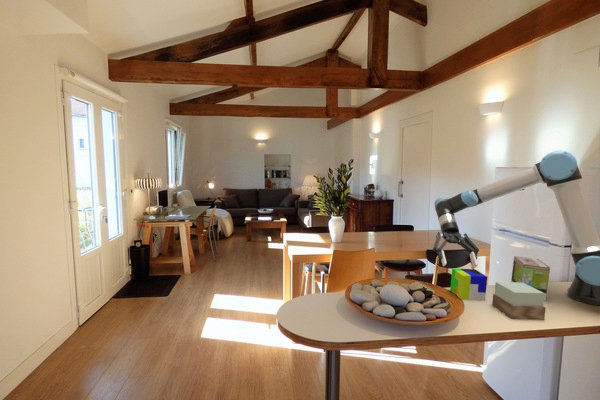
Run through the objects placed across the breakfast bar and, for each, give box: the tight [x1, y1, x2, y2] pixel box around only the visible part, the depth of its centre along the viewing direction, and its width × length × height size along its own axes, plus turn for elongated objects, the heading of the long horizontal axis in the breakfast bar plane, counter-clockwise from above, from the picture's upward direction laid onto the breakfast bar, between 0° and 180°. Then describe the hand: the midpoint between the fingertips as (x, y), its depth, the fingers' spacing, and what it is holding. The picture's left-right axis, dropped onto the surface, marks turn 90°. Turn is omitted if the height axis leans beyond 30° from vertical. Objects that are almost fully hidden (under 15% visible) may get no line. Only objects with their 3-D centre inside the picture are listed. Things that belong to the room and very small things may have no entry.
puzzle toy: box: [449, 267, 488, 301], centre depth 144 cm, size 10×10×10 cm
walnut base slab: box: [491, 293, 547, 321], centre depth 128 cm, size 12×12×5 cm
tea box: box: [510, 255, 551, 302], centre depth 149 cm, size 15×10×15 cm
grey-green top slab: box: [494, 281, 544, 306], centre depth 128 cm, size 11×11×5 cm
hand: (460, 265), depth 150 cm, fingers open, 13 cm apart
